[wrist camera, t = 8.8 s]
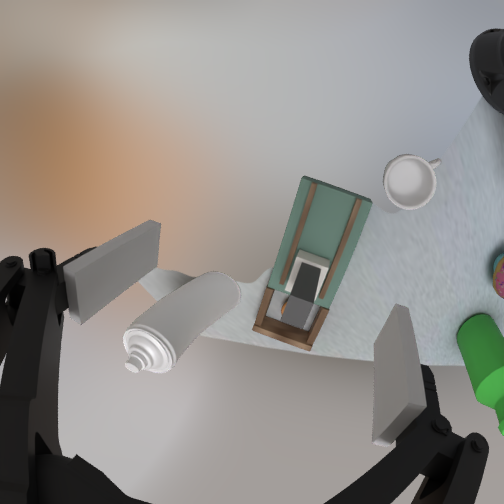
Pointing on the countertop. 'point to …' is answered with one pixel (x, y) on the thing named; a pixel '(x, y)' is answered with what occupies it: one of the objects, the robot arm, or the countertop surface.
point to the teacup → (410, 181)
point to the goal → (287, 326)
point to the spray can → (178, 321)
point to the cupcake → (499, 275)
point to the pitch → (321, 232)
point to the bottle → (484, 361)
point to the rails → (339, 250)
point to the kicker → (304, 287)
